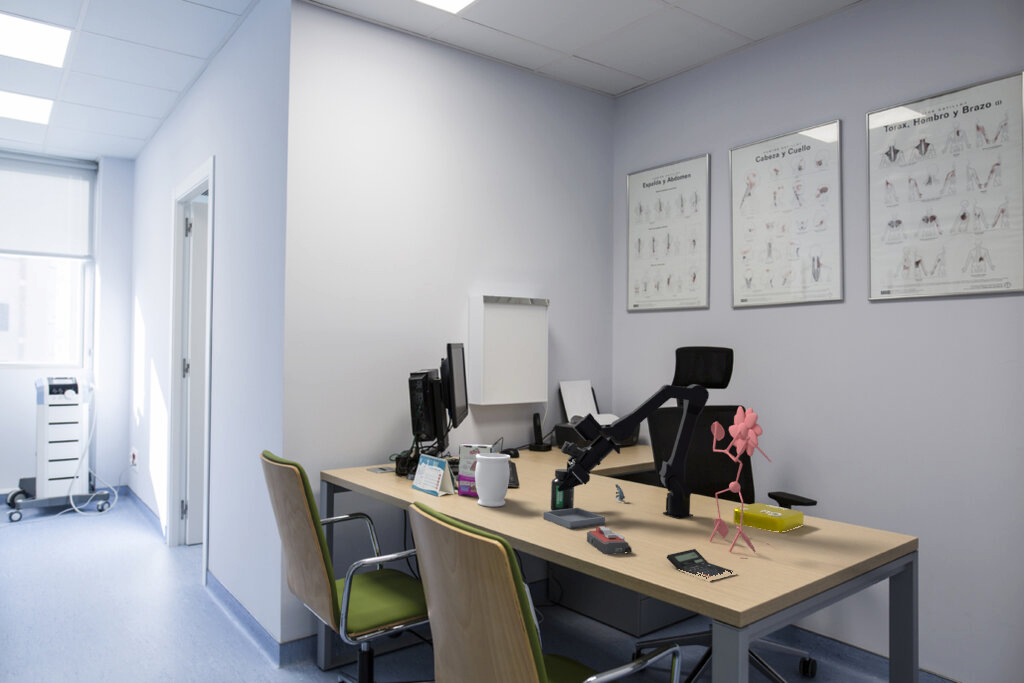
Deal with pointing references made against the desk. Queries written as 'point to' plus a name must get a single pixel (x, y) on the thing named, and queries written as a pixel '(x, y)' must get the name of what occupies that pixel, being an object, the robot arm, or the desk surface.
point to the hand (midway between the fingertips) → (558, 488)
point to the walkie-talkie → (607, 541)
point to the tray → (574, 518)
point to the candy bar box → (470, 467)
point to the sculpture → (620, 492)
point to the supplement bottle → (564, 497)
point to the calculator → (695, 563)
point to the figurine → (743, 439)
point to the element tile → (768, 517)
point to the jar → (492, 478)
